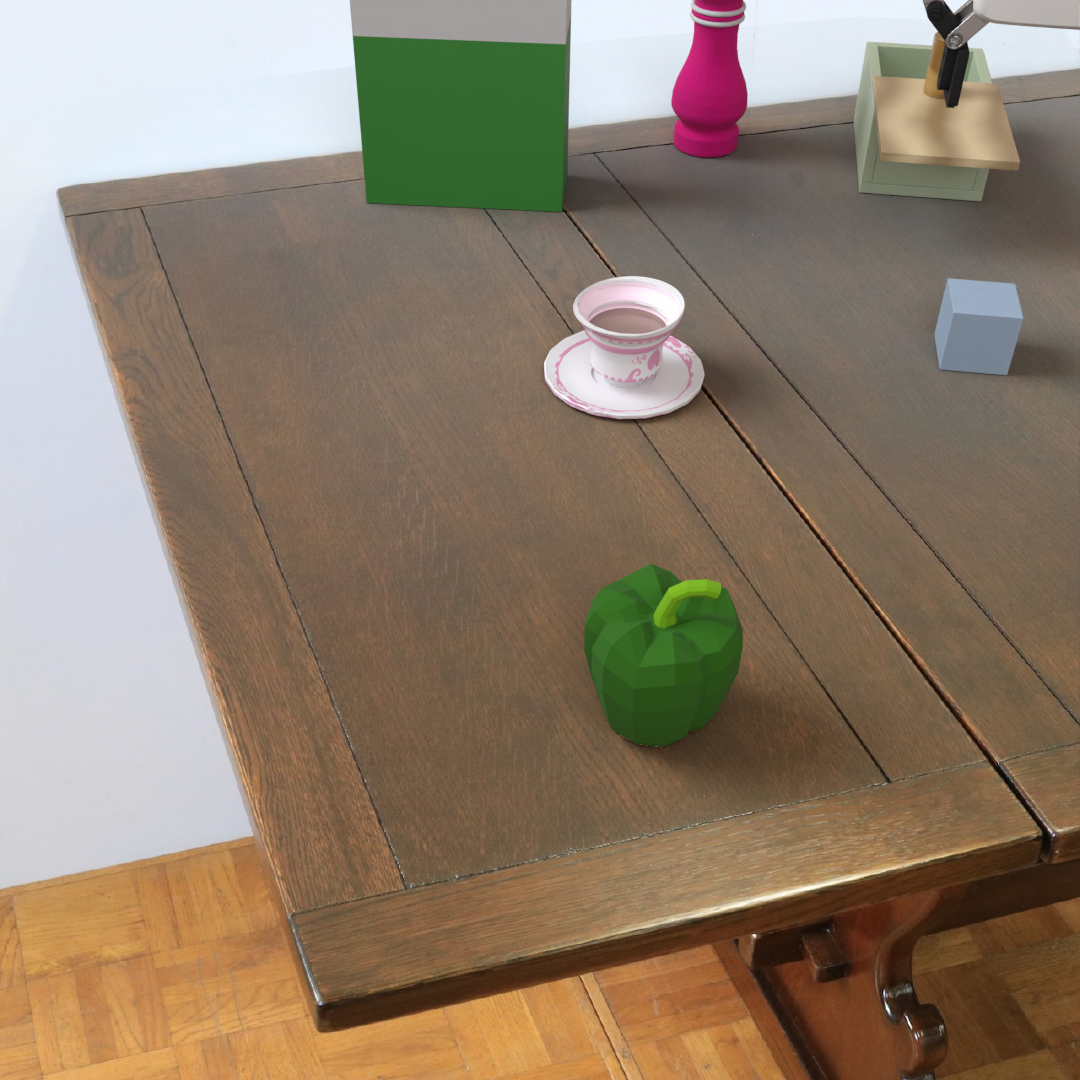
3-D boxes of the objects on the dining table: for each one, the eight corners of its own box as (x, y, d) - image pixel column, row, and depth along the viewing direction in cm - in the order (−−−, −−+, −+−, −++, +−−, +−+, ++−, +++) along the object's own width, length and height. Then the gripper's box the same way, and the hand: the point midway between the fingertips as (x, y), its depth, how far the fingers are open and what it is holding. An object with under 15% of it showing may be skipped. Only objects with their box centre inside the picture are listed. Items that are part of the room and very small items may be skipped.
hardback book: (366, 202, 119) (342, -80, 104) (380, 166, 125) (360, -107, 109) (562, 211, 118) (568, -72, 103) (567, 174, 124) (573, -100, 108)
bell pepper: (557, 741, 72) (560, 609, 66) (612, 642, 78) (620, 512, 72) (703, 791, 70) (722, 660, 63) (749, 686, 76) (770, 555, 69)
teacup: (634, 443, 93) (639, 369, 89) (510, 377, 99) (509, 305, 95) (736, 373, 99) (745, 301, 95) (614, 314, 105) (617, 245, 101)
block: (999, 339, 103) (1015, 283, 100) (1007, 375, 100) (1023, 318, 96) (934, 334, 104) (947, 277, 100) (939, 369, 100) (953, 312, 97)
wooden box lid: (995, 92, 119) (1011, 27, 115) (1018, 171, 107) (1036, 101, 103) (871, 84, 120) (883, 19, 117) (880, 161, 108) (893, 92, 105)
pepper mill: (723, 124, 133) (745, -89, 120) (754, 154, 128) (781, -64, 114) (656, 133, 131) (671, -81, 118) (685, 164, 126) (704, -57, 113)
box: (964, 128, 133) (983, 48, 127) (981, 201, 121) (1002, 117, 115) (853, 120, 134) (866, 41, 128) (858, 192, 122) (874, 108, 117)
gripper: (1227, -176, 82) (1140, 93, 93) (942, -191, 84) (891, 75, 95) (1257, -144, 77) (1161, 138, 88) (951, -161, 78) (896, 118, 90)
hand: (1021, 105), depth 92 cm, fingers open, 9 cm apart
